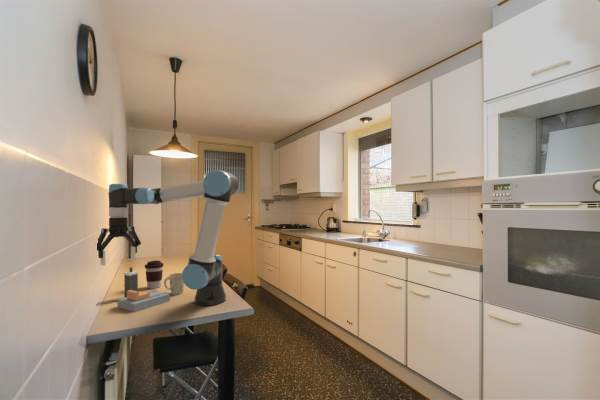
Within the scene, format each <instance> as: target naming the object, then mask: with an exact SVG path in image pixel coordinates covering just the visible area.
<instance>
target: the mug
mask: <svg viewBox="0 0 600 400" xmlns="http://www.w3.org/2000/svg"><path fill="white" fill-rule="evenodd" d="M168 281H169V286H168V285H167V282H168ZM163 286H164V287H165V288H166V289H167V290H170V295H174V296H175V295H177V296H178V295H181V294H184V291H185V290H184V289H185V284H184V282H183V280H182V272H178V273H176V272H175V273H171V274H169V275H168V277H166V278H165V279H164V281H163Z"/></svg>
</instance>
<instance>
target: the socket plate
mask: <svg viewBox="0 0 600 400" xmlns="http://www.w3.org/2000/svg"><path fill="white" fill-rule="evenodd" d="M146 292H147V293H150V297H148V298H144V299H141V300H137V301H134V300H130V299H127V297H125V296H124V297H122V298H118V299H117V301H116V302H117V308H120V309H124V310H127V311H129V312H134V313H136V312H139V311H143V310H146V309H150V308H152V307H155V306H158V305H162V304H164V303H167V302H170V299H171V293H167V291H158V290H157V288H155V289H150V290H148V291H146Z"/></svg>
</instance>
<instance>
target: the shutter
mask: <svg viewBox="0 0 600 400" xmlns="http://www.w3.org/2000/svg"><path fill="white" fill-rule="evenodd" d="M148 297H150V293H147V291H141V290H140V291H138V292H137V291H133V290H128V291H127V299H130V300H134V301H137V300H141V299H144V298H148Z"/></svg>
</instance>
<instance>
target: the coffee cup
mask: <svg viewBox="0 0 600 400" xmlns="http://www.w3.org/2000/svg"><path fill="white" fill-rule="evenodd" d="M163 267H164V262H162V261H161V260H149V261H147V263H146V264H144V269H145V277H146V278H145V279H146V285H147V289H150V290H154V289H159V288H161V287H162V279H163Z"/></svg>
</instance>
